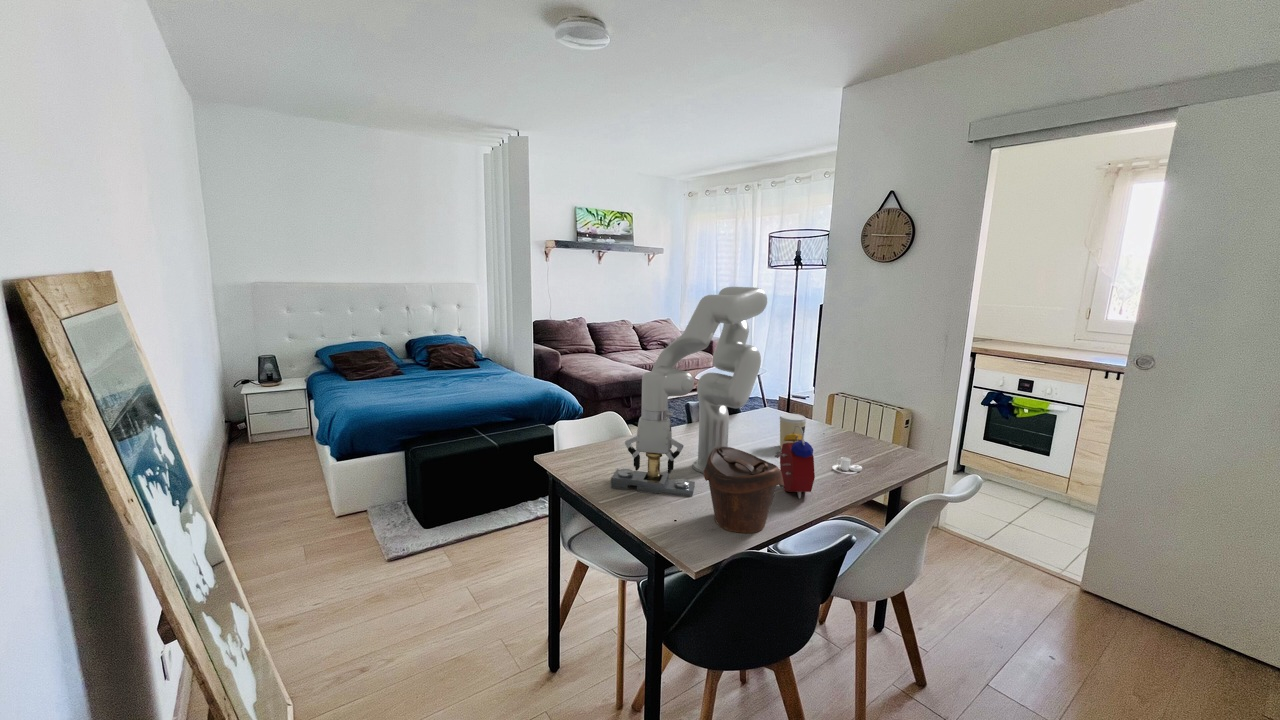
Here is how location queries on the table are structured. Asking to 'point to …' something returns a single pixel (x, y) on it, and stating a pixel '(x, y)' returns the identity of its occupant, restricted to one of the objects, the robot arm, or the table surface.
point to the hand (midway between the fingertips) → (653, 470)
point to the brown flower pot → (741, 488)
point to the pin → (653, 466)
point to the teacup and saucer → (847, 466)
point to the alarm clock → (797, 464)
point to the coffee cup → (791, 426)
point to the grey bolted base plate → (651, 483)
